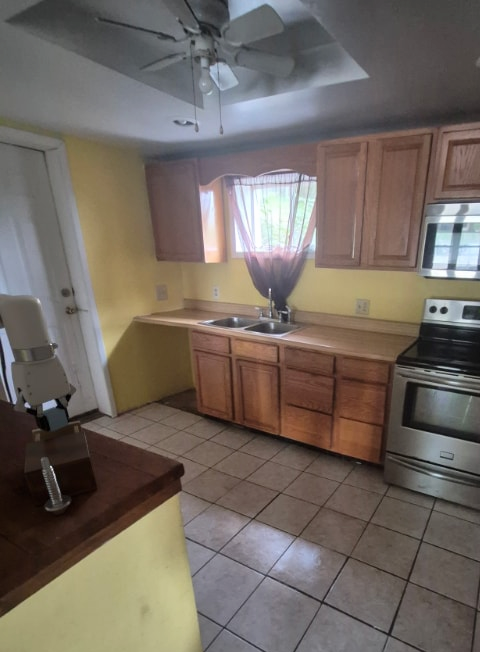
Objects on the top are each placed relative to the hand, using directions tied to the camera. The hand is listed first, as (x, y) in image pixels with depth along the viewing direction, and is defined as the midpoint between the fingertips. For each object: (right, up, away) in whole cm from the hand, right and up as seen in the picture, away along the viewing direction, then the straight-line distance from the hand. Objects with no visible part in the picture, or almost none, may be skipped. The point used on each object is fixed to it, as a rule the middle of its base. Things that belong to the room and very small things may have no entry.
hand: (54, 425), depth 90 cm
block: (0, 0, 0) cm, 0 cm away
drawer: (-1, -8, +5) cm, 9 cm away
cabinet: (+6, -13, -4) cm, 15 cm away
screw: (+10, -17, -13) cm, 24 cm away
